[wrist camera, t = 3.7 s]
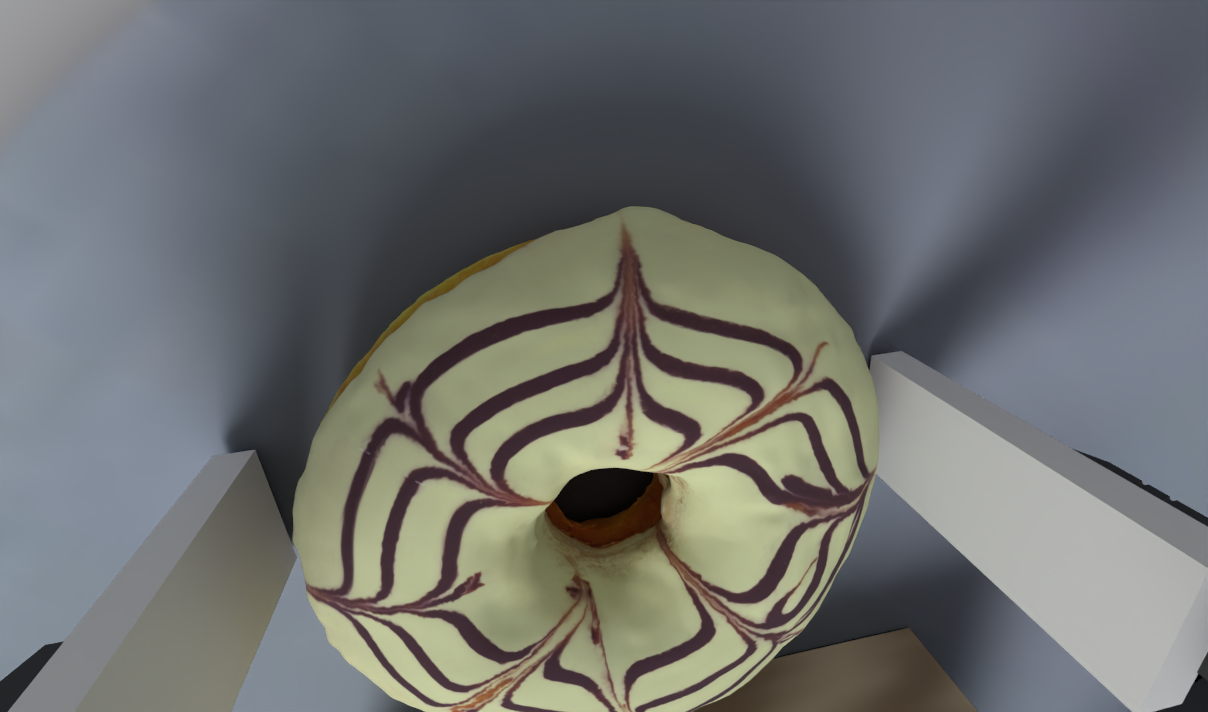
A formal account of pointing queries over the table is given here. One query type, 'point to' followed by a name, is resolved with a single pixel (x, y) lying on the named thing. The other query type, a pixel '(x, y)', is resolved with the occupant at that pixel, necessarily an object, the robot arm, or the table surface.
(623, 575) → the decorated donut
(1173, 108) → the table surface
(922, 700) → the pallet
